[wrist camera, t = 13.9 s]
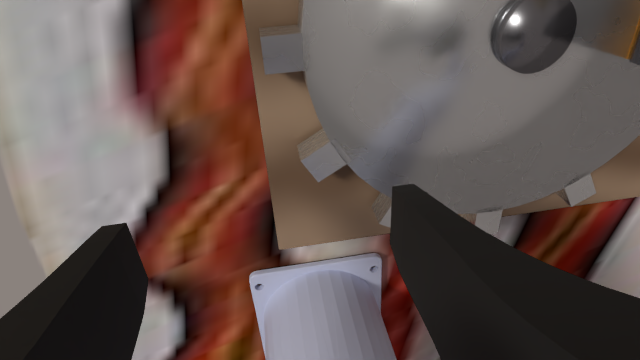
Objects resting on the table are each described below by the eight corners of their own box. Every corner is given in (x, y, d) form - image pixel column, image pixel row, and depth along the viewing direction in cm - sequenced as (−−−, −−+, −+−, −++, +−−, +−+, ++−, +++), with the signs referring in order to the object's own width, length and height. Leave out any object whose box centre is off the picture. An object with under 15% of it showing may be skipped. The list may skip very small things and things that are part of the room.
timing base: (630, 186, 26) (644, 196, 25) (277, 238, 24) (279, 250, 23) (851, -356, 14) (894, -376, 13) (190, -352, 12) (186, -374, 11)
